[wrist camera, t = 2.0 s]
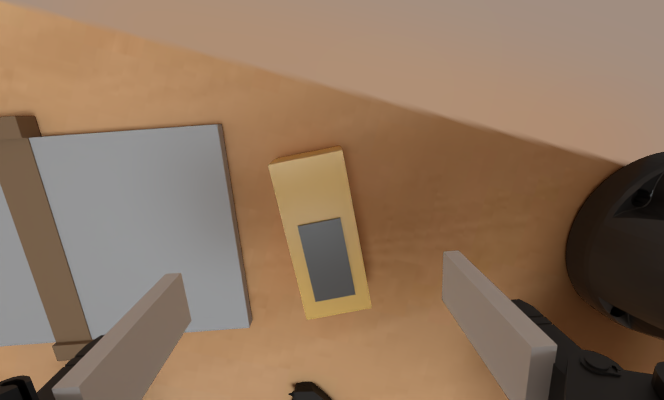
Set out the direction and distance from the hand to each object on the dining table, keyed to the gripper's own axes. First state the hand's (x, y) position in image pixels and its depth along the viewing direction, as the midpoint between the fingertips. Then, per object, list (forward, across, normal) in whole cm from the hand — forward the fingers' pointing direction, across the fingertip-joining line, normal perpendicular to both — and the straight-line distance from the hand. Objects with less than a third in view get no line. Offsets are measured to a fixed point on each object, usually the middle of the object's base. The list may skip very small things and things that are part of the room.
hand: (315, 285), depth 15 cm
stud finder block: (+10, 0, 0) cm, 10 cm away
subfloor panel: (+10, +18, 0) cm, 20 cm away
